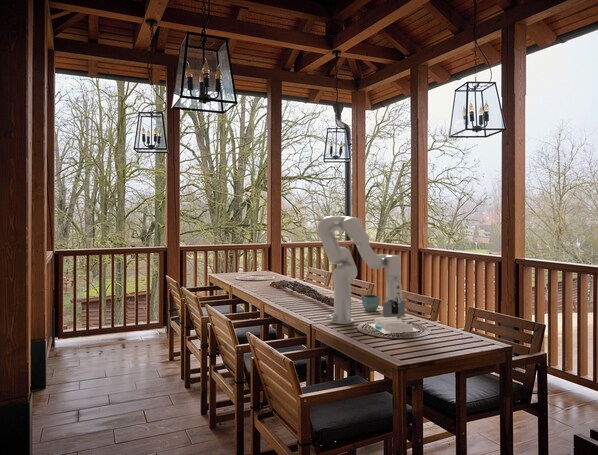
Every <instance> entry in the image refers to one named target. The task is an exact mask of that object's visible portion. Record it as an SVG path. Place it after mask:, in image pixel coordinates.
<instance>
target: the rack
mask: <svg viewBox="0 0 598 455" xmlns="http://www.w3.org/2000/svg"><path fill="white" fill-rule="evenodd" d="M373 320H374V323H368V324H367V326H368V325H369V326H371V327H373V328H375V329H377V330H379V331H380V332H382V333H384V334H386V333H402V332H416V331H420V330H419V329H417V328H415V327H414V325H413V324H411V323H409V324H408V321H403V319H402V318H401V319H398V317H377V318H374V319H373ZM369 326H368V327H369ZM371 327H370V328H371ZM373 328H372V329H373ZM375 329H374V330H375ZM380 332H379V333H380ZM416 333H417V332H416Z"/></svg>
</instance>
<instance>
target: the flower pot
mask: <svg viewBox="0 0 598 455" xmlns="http://www.w3.org/2000/svg"><path fill="white" fill-rule="evenodd" d="M380 299H381V297H380V296H378V295H376V294H362V295H361V301H362V303H361V304H362V306H363V308H364V310H366V311H367V312H375V311H377V310H378V308H379V306H380V305H379V304H380Z"/></svg>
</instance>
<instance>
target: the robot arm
mask: <svg viewBox="0 0 598 455" xmlns="http://www.w3.org/2000/svg"><path fill="white" fill-rule="evenodd" d="M363 225H364V224H363V221H362V219H360V218H359V217H355V216H354V217H353V216H344V215H330V216H329V215H328V216H325V217H324V218H322V219H321V220H320V222H319V223H318V225H317V233H318V236H319V237H318V238H320V241H321V243H322V245H323V246H322V247H323V248H324V252H325V254H326V256H327V259H328V262H329V263H330V264H331V265H338V266H336V267H335V268H334V269H333V272H332V281H333V312H332V314H327V315H325V319H327V320H328V319H329V320H330V321H331V323H334V324H340V325H349V324H353V323H354V321H355V319H354V318H352V287H351V284H350V282H351V281H353V280H355V279H356V277H357V276H358V269H357V265H356V263H355V261H354V258H353V256H352V253H351V251H350V250H349V248H347V247H345V246H340V244H339V241H338V239H337V237H336V235H335V234H334V233H333V232H336V231H341V232H345V233H346V235H347V236H348V237H349V238H350V240H351V241H352V242H353V243H354V245H356V248H357V251H358V253H359V255H360V257H361V259H362V261H364V263H366V265H367V266H368V267H369V268H370V269H373V270H378V269H379V270H380V269H383V268H385V274H386V275H385V282H386V284H385V285H386V288H385V297H386V299H387V301H393V307H392V314H398V306H399V304H400V303H401V302H400V301H401V300H403V287H402V282H401V281H402V280H401V279H402V278H401V277H402V276H401V275H402V271H401V270H402V269H401V268H402V264H401V260H402V258H401V256H400V255H398V254H385V253H379V254H378V253H376V252H375V251H374V250H373V249H372V247H371V245H370V235H369V234H368V233H367V232H366V230H364V226H363Z"/></svg>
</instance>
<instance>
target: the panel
mask: <svg viewBox="0 0 598 455" xmlns="http://www.w3.org/2000/svg"><path fill="white" fill-rule="evenodd" d="M400 302H401V303H400V304H399V306H398V314H392V307H393V301H388V300H382V312H383V316H382V318H388V317H397V316H399V317H405V312H406V311H405V307H406V306H405V300H404V299H402V300H401V301H400ZM397 318H398V317H397Z"/></svg>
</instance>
